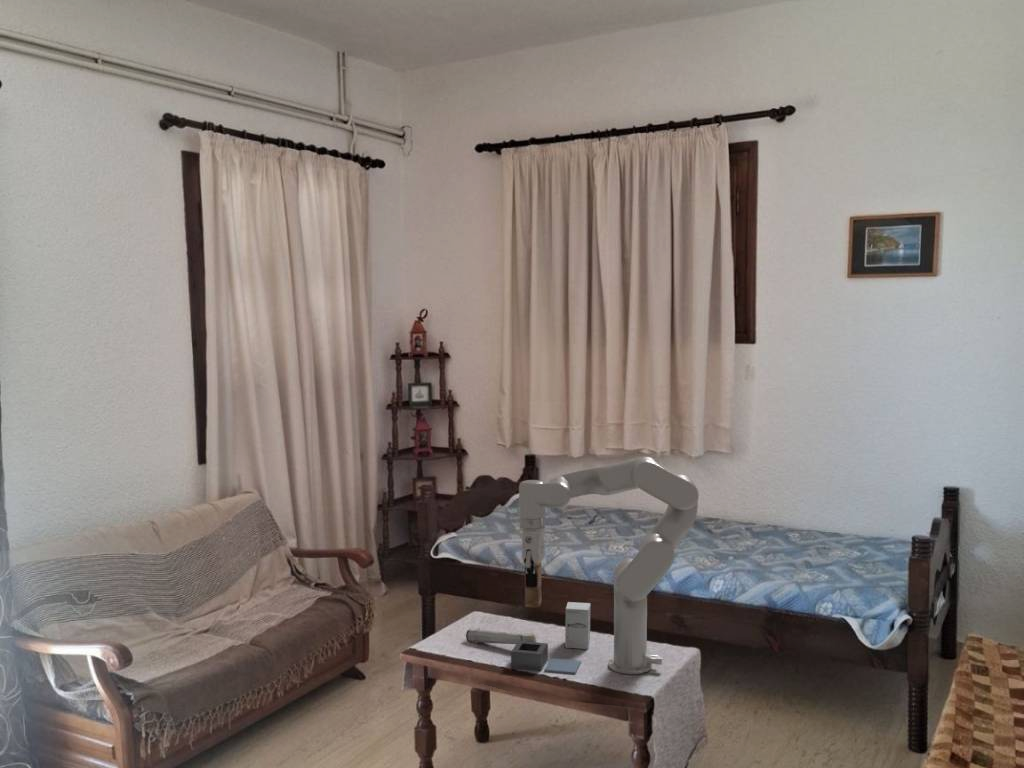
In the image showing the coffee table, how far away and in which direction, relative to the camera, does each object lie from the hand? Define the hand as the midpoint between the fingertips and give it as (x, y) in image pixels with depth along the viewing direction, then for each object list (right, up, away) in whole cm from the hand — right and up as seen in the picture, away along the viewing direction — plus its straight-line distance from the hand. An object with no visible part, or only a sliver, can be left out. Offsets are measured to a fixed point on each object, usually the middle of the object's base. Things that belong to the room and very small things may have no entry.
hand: (533, 584), depth 256 cm
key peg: (0, -6, 0) cm, 6 cm away
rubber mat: (+9, -24, -1) cm, 26 cm away
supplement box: (+14, -23, +17) cm, 32 cm away
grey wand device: (-9, -24, +15) cm, 30 cm away
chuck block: (-1, -24, +2) cm, 24 cm away
